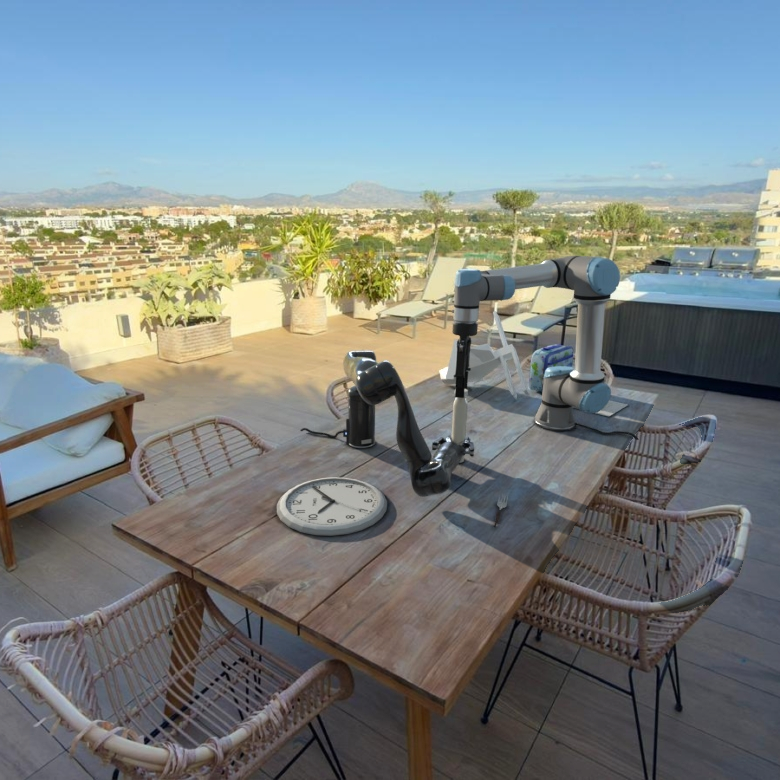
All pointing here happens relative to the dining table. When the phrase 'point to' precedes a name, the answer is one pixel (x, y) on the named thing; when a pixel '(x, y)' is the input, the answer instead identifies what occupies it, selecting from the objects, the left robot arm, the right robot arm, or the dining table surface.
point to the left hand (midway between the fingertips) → (460, 438)
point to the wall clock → (331, 506)
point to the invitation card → (611, 408)
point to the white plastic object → (486, 362)
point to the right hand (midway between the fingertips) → (461, 393)
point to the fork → (500, 505)
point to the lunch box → (548, 363)
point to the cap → (465, 392)
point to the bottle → (459, 421)
